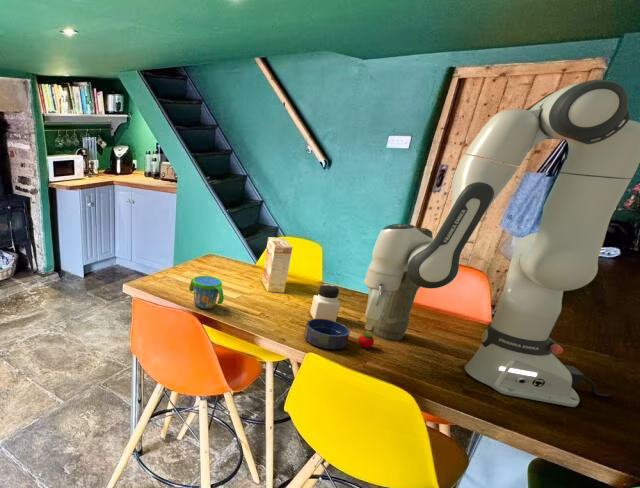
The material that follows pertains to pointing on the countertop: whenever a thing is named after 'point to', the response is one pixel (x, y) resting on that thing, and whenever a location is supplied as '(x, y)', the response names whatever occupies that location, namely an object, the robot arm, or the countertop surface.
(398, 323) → the olive grey tall cylinder
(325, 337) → the bowl
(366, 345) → the tomato
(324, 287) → the medicine bottle
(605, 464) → the countertop surface
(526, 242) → the robot arm
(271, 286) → the coffeecake box
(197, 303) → the snack cup
